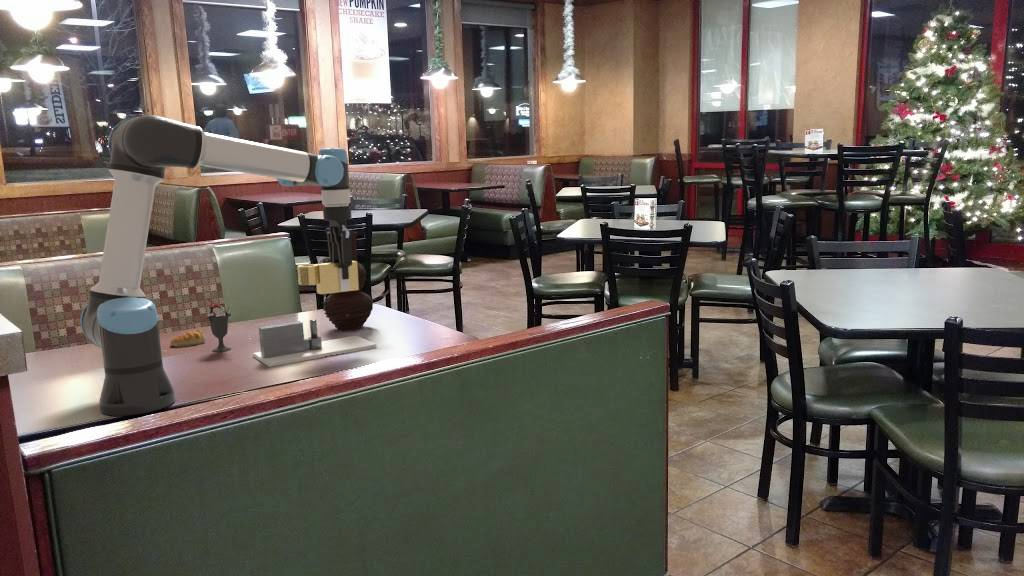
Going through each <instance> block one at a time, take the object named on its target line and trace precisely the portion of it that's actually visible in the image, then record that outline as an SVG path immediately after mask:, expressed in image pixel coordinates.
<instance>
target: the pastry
mask: <svg viewBox="0 0 1024 576" xmlns="http://www.w3.org/2000/svg"><path fill="white" fill-rule="evenodd" d="M205 342H206V337H205V334H204V332H203V331H202V330H201V329H197V330H192V331H185V332H184V333H182V334H180V335H177V336H176V337H174V338H172V339H171V340H170V346H172V347H176V348H178V347H188V346H194V345H201V344H204V343H205Z"/></svg>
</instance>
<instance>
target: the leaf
mask: <svg viewBox="0 0 1024 576" xmlns="http://www.w3.org/2000/svg"><path fill="white" fill-rule="evenodd" d="M357 262H358V260H357V261H352V265H350V267H349V277H350V290H349V291H354V290H359V285H358V267H357ZM337 266H340V263H339V262H333V263H330V262H325V263H324V262H323V263H315V264H313V263H309V264H299V265H296V267H297V279H298V280H297V283H298V285H299V286H315V285H316V293H317V294H318V295H327V294H328V295H329V294H333V293H337V292H346V291H340V282H339V268H338V267H337Z"/></svg>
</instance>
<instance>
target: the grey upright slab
mask: <svg viewBox="0 0 1024 576" xmlns="http://www.w3.org/2000/svg"><path fill="white" fill-rule="evenodd" d="M317 323H318V322H317V319H314V318H313V319H309V329H310V330H309V331H310V337H308V338H305V335H304V334H305V332H304V322H302V321H300V320H299V321H289V322H284V323H279V324H278V323H277V324H270V325H265V326H259V327H258V332H259V333H258V336H259V345H260V347H259V348H260V352H261V357H263V358H271V357H277V356H283V355H288V354H294V353H300V352H305V351H308V350H319V349H322V342H321V341H322V337H321V336H318V334H319V333H318V324H317Z"/></svg>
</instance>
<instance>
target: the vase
mask: <svg viewBox="0 0 1024 576" xmlns="http://www.w3.org/2000/svg"><path fill="white" fill-rule="evenodd" d="M358 233H359V232H358V231H355V230H354V231H352V237H351V244H352V261H357V267H358V285H359V290H354V291H346V292H337V293H330V294H328V296H327V297H326V298H324V301H323V302H322V304H323V305H322V307H323V309H322V311H324V313H323V314H324V315H325V317H326V318H327V319H328V321H329V322H330V323H331V324H333V325H334V327H335V328H336V331H341V332H353V331H356V330H357V331H358V330H362V328H364V325H365V323H366V322H367V320H368V318H369V317H370V316H371V313H372V311H373V309H374V306H373V304H374V301H373V299H372V297H371V295H370V294H369V293H366V292H364V291H362V290H363V289H364V287H365V285H366V280H367V270H366V269H365V267H364V265H363V264H362V263H360V262H358V250H357V249H358V246H357V245H358V239H357V237H358Z"/></svg>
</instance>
